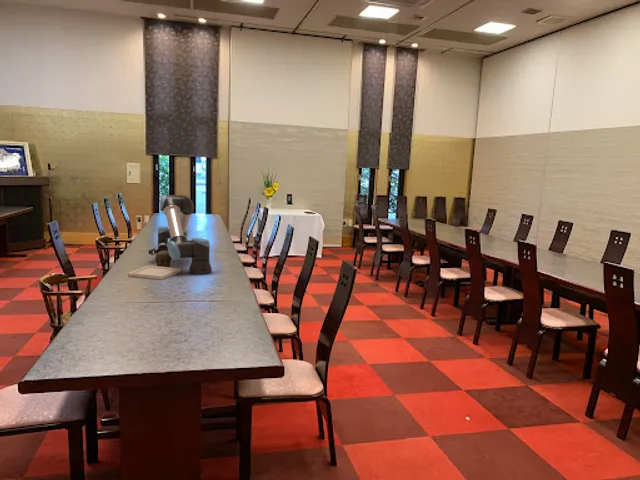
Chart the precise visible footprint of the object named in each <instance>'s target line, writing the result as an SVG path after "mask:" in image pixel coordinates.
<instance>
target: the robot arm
mask: <svg viewBox="0 0 640 480" xmlns="http://www.w3.org/2000/svg"><path fill="white" fill-rule="evenodd" d="M194 209H195V206H194V203H193V200H192V199H191V198H190V197H188V196H187V195H185V194H184V195H183V194H163V195H161V196H160V200H159V211H160V212H162V213H163V214H164V216H166V220H167V226H165V225H161V226H158V228H157V249H156V248H153V249H149V250H148V255H150V256H152V257H155V255H156V254H157V253H158V252H159V251H165V250H167V251H168V253H169V255H170V257H171V258H172V259H177V260H178V259H188V258H189V259H191V262H190V266H189V269H188V273H189V274H192V275H201V276H202V275H210V274H212V273H213V268H212V266H211V265H212V264H211V261H210V241H209V239H206V238H203V237H192V238H191V239H190V240H188V238H187V237H188V229H187V227H188V224H189V220H190V218H191V215H193V213H194Z"/></svg>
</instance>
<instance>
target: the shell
mask: <svg viewBox="0 0 640 480" xmlns="http://www.w3.org/2000/svg"><path fill="white" fill-rule="evenodd" d="M154 259H155V264H156V266H159V267H170V268H171V265H172V259H173V258H171V257H170V255H169V253H168V251H167V250H165V251H159V252H158V253H156V254H155V258H154Z"/></svg>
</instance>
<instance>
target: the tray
mask: <svg viewBox="0 0 640 480" xmlns="http://www.w3.org/2000/svg"><path fill="white" fill-rule="evenodd" d="M181 272H182V268H178V267H171V266H170V267H159V266H157V265H146V266H142V267H140V268H137V269H135V270H132V271H130V272H127V277H128V278H136V279H137V278H139V279H148V280H157V281H158V280H159V281H164V280H167V279H168V277H169V278H171V277H172V276H175V275H178V274H180V273H181Z"/></svg>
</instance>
